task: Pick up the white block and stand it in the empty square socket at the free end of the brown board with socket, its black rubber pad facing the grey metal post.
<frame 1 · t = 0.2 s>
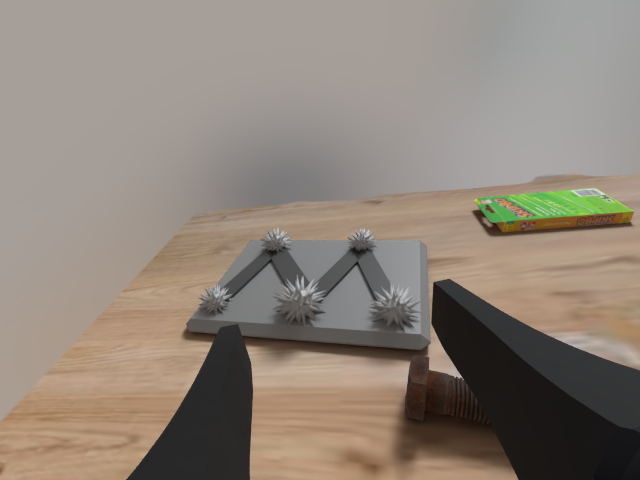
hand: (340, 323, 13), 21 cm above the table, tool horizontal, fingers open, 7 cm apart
bolt: (497, 426, 30), on the table
game box: (543, 217, 59), on the table
grey spiky zigzag board: (317, 291, 50), on the table
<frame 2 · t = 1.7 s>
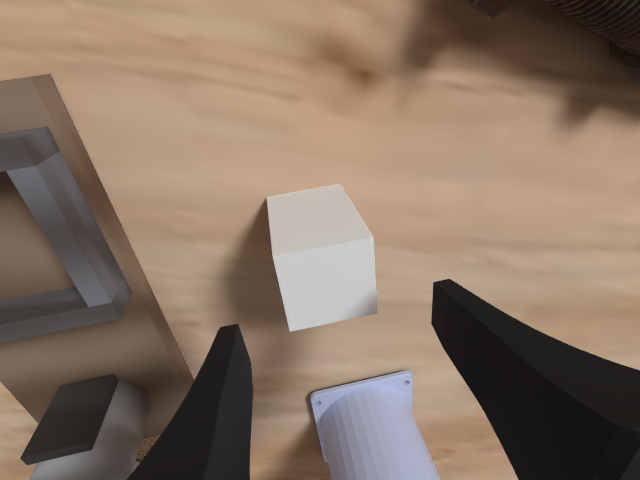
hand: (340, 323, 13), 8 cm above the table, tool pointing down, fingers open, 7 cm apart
bolt: (587, 6, 17), on the table
white block: (308, 222, 20), on the table
brown board with socket: (67, 302, 20), on the table
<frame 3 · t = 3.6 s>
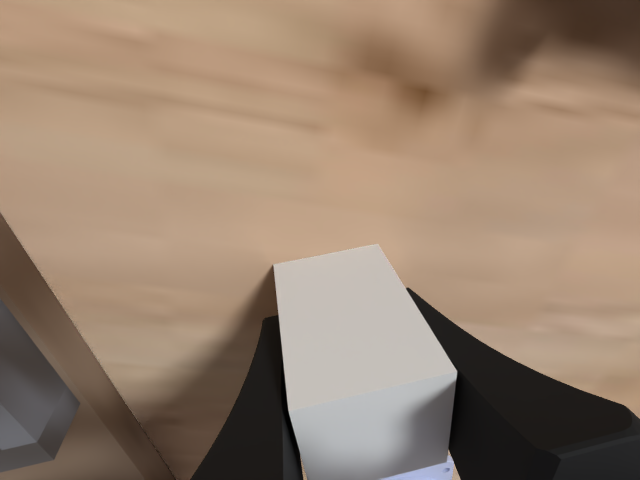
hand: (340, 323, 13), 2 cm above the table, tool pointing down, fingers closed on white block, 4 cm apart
white block: (331, 295, 14), on the table, touching gripper
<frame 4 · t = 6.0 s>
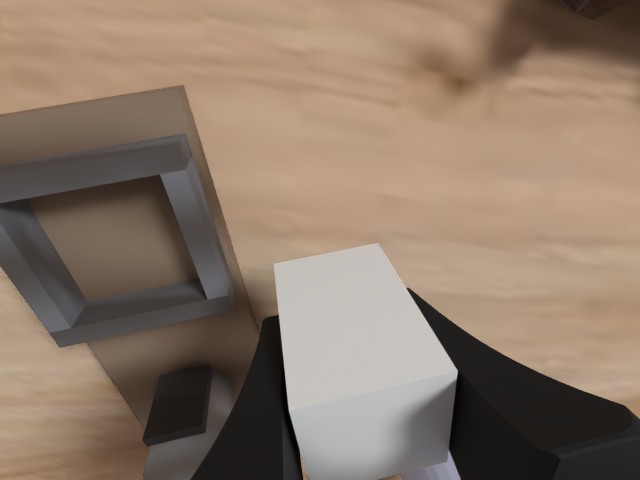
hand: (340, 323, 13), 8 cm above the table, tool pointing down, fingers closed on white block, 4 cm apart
white block: (332, 294, 14), point 7 cm above the table, touching gripper
brown board with socket: (167, 296, 21), on the table
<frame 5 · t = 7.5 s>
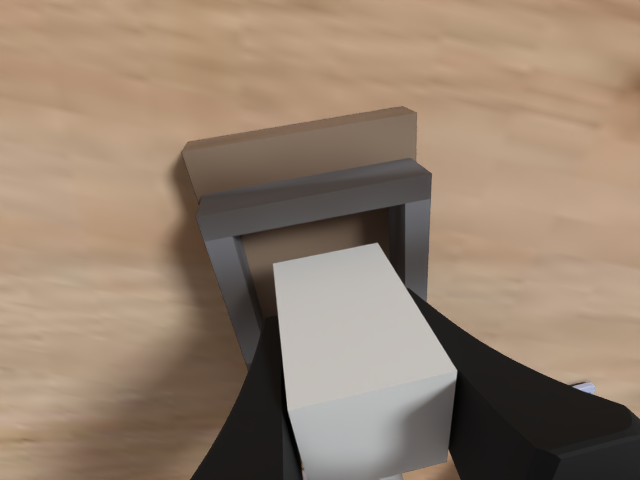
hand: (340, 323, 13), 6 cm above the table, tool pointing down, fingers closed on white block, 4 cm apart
white block: (331, 294, 14), point 4 cm above the table, touching gripper
brown board with socket: (327, 319, 20), on the table
when the fingers open (5 cm above the table, at t = 8.8 s): white block drops 1 cm, resting on brown board with socket.
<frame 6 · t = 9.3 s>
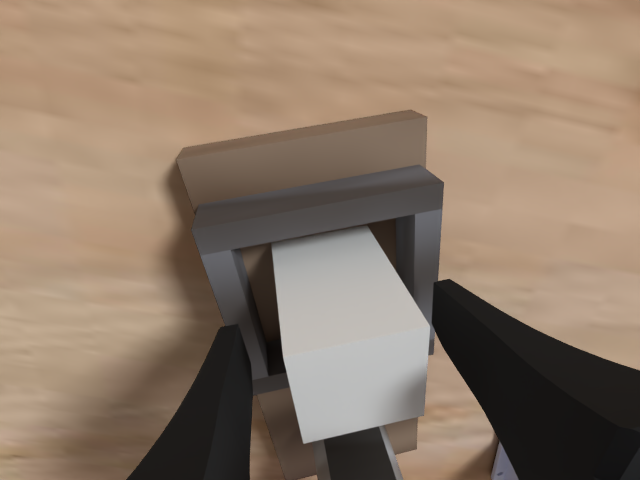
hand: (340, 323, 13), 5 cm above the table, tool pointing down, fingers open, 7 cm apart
white block: (324, 273, 15), point 1 cm above the table, touching brown board with socket
brown board with socket: (330, 331, 19), on the table
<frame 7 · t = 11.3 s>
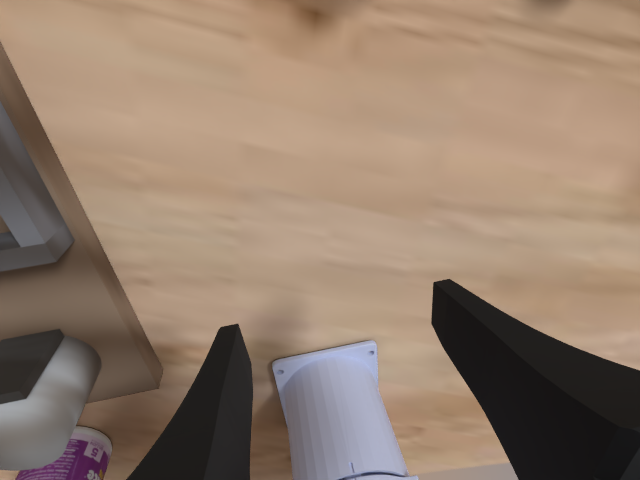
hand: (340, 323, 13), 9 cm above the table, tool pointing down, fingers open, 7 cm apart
pill bottle: (77, 441, 27), on the table
brown board with socket: (10, 252, 19), on the table
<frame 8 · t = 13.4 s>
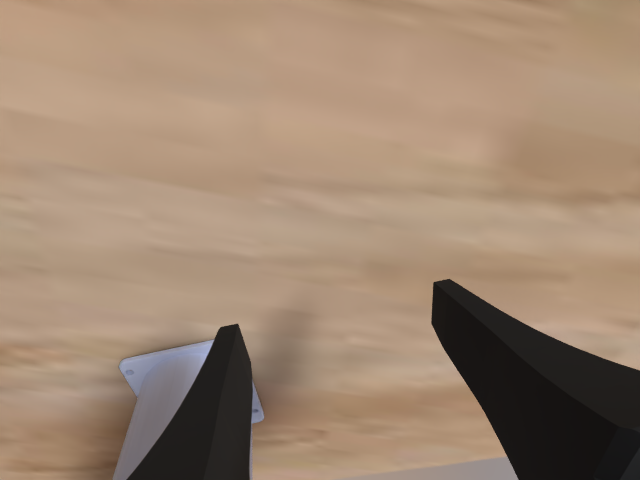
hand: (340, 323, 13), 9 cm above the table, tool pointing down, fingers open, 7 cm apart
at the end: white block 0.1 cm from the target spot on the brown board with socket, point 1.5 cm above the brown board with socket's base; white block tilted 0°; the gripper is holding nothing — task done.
